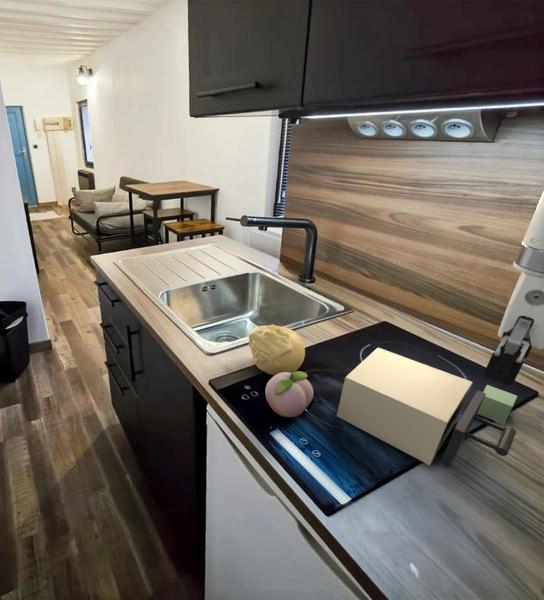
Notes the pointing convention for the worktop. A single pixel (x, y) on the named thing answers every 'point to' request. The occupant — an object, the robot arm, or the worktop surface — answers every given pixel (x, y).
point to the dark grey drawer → (463, 430)
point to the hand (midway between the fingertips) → (505, 366)
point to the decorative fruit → (289, 393)
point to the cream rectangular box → (402, 402)
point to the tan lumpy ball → (276, 349)
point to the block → (496, 404)
